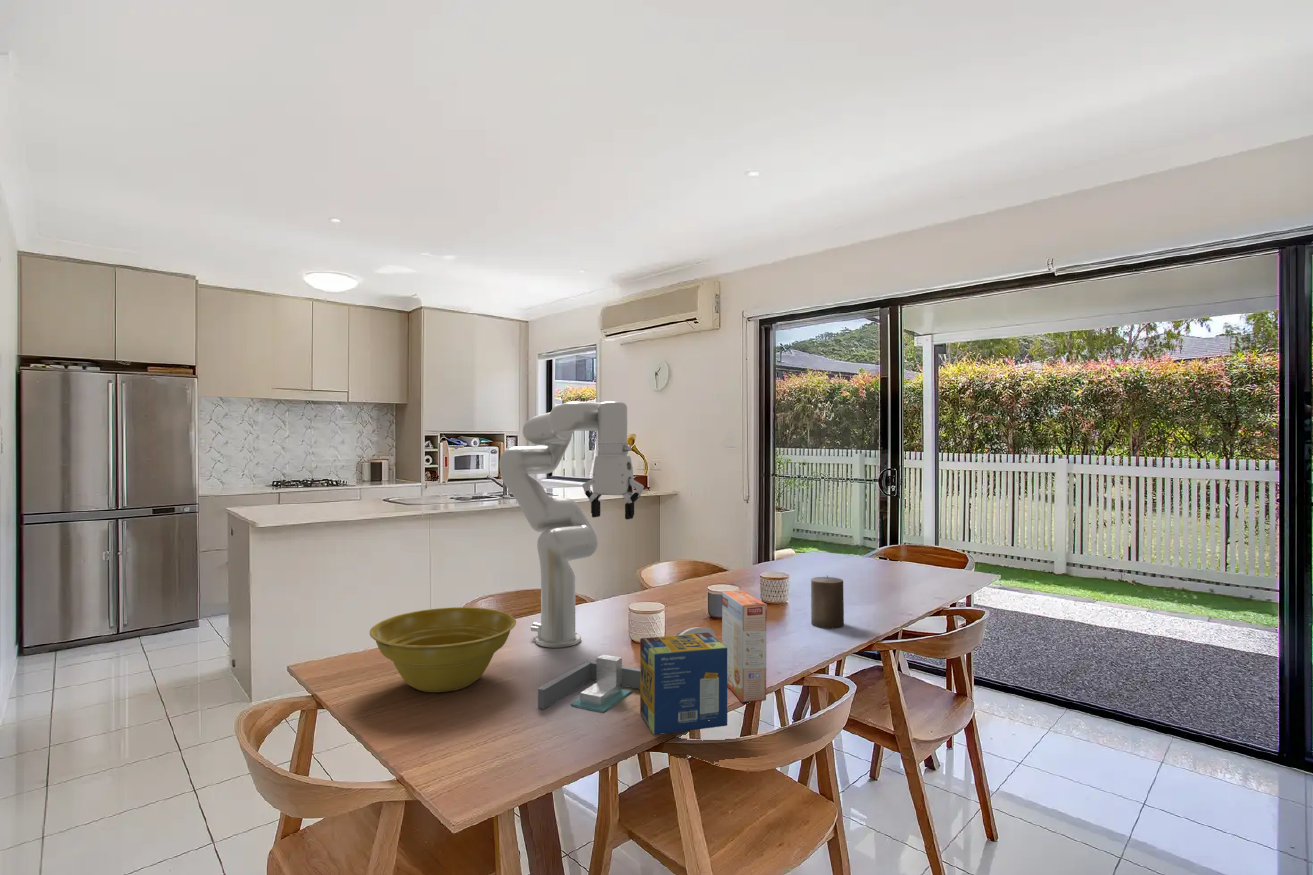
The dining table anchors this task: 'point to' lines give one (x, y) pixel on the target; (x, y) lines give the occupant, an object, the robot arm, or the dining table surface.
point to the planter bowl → (442, 645)
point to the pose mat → (604, 706)
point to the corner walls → (580, 682)
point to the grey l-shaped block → (604, 681)
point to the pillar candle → (827, 602)
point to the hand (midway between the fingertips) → (612, 517)
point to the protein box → (683, 682)
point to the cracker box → (745, 644)
